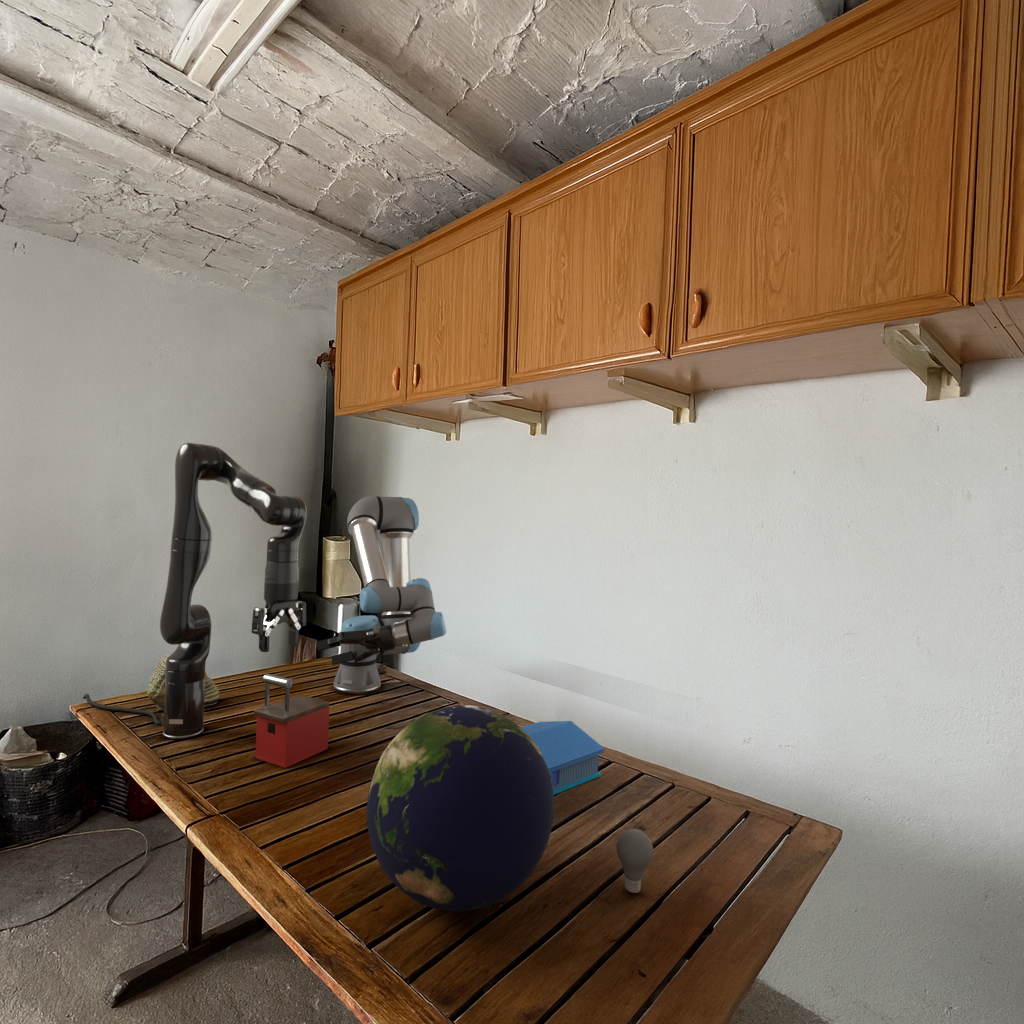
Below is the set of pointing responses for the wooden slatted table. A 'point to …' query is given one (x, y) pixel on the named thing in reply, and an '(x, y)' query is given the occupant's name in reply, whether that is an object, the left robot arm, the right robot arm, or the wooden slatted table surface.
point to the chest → (292, 738)
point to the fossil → (158, 687)
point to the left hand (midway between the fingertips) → (279, 648)
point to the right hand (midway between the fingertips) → (324, 653)
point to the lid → (287, 702)
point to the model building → (566, 753)
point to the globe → (460, 808)
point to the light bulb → (634, 857)
